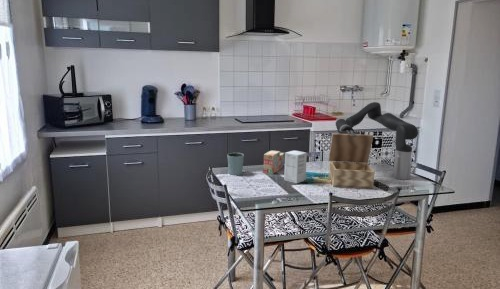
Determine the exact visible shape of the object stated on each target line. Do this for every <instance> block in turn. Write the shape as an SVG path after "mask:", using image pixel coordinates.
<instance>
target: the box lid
mask: <svg viewBox="0 0 500 289" xmlns="http://www.w3.org/2000/svg"><path fill="white" fill-rule="evenodd" d="M331 135H332V136H331V141H330V148H329V156H328V162H351V163H367V164H369V158H370V155H371V149H372V143H373V139H374V134H361V133H360V134H356V133H350V134H340V133H338V132H337V133H335V132H332V134H331Z"/></svg>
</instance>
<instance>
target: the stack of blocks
mask: <svg viewBox="0 0 500 289" xmlns="http://www.w3.org/2000/svg"><path fill="white" fill-rule="evenodd" d="M285 153H286V152H281V151H280V150H269V151H267V152H266V153H264V154H263V166H262V168H263V170H262V173H263V174H269V175H274V174H275V173H277V172H278V171H280V170H281V169H282V168H285Z"/></svg>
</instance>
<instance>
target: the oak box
mask: <svg viewBox="0 0 500 289" xmlns="http://www.w3.org/2000/svg"><path fill="white" fill-rule="evenodd" d="M328 170H329V171H328V179H329V178H330V179H329V181H330V180H331V181H330V183H331V182H332V183H331V185H333V186H332V187H333V188H347V189H348V188H349V189H366V190H367V189H369V190H372V189H374V183H375V182H374V181H375V170H374V169H373V167H371V166H370V165H369V163H362V162H340V161H329V168H328Z"/></svg>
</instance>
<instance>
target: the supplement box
mask: <svg viewBox="0 0 500 289" xmlns="http://www.w3.org/2000/svg"><path fill="white" fill-rule="evenodd" d="M284 153H285V156H284V158H285V160H284V172H283V173H284V175H283V179H284V181H285V182H290V183H293V184H299V183H302V182H305V181H306V177H307V176H306V175H307V174H306V173H307V158H308V157H307V156H308V153H307V152H304V151H300V150H290V151H287V152H284ZM304 180H305V181H304Z"/></svg>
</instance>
